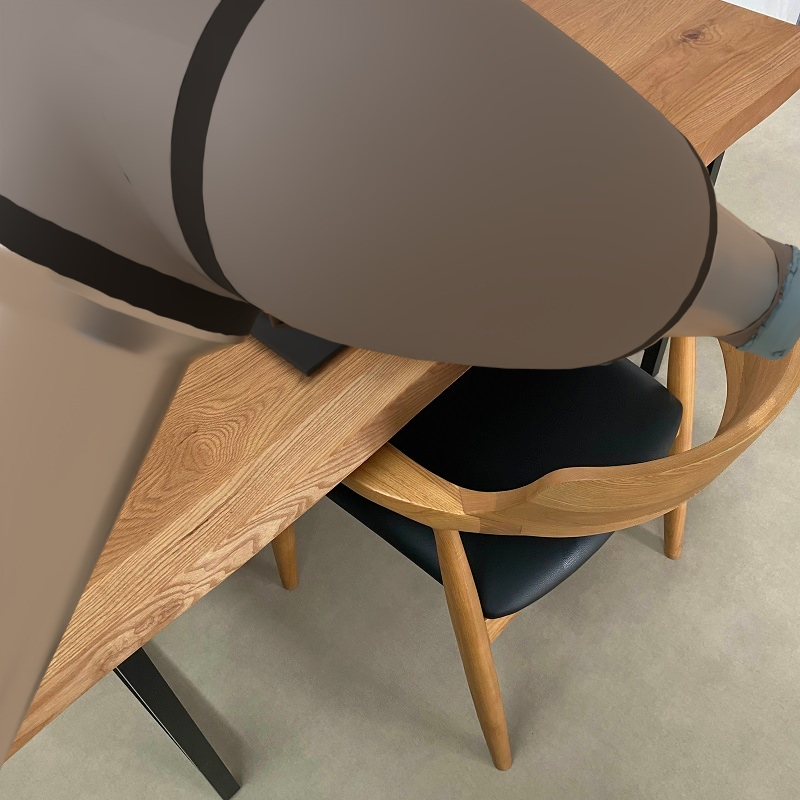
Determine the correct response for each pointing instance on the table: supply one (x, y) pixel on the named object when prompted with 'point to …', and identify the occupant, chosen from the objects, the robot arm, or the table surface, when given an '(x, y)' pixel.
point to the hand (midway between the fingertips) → (250, 235)
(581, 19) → the table surface
